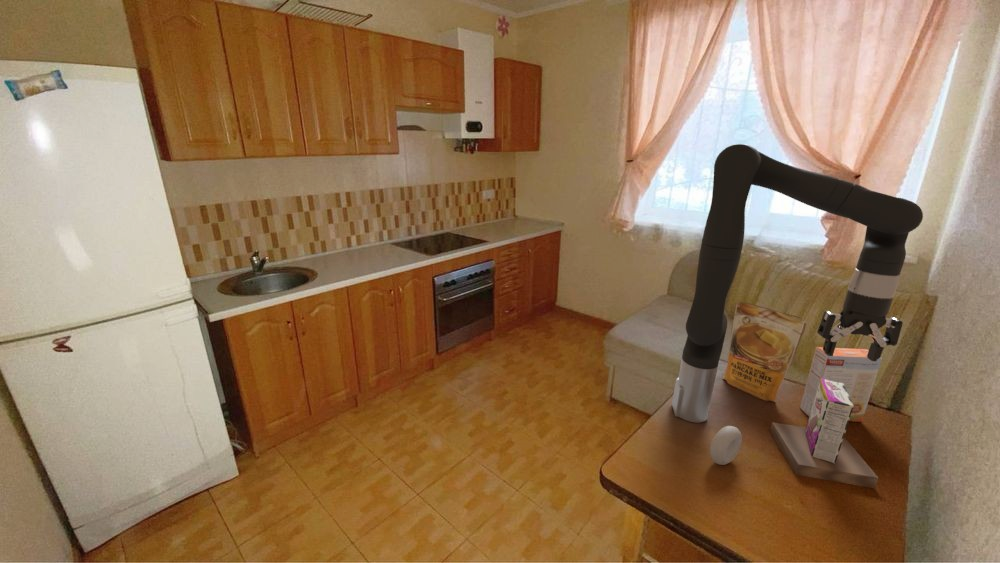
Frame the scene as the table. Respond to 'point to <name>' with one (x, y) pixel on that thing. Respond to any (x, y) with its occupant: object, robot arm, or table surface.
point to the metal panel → (802, 463)
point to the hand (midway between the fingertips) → (849, 357)
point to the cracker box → (843, 377)
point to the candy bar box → (828, 420)
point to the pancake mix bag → (761, 349)
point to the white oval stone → (725, 445)
